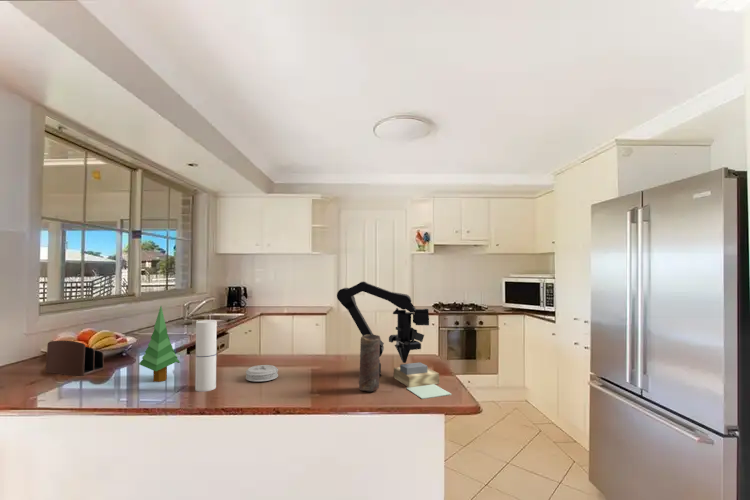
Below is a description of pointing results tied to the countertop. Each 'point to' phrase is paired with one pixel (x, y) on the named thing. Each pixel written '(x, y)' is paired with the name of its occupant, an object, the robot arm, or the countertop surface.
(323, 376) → the countertop surface
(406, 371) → the tile
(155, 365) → the decorative tree
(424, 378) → the board
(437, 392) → the mat
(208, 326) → the cylindrical container
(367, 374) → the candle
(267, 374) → the lid
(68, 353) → the letter holder
